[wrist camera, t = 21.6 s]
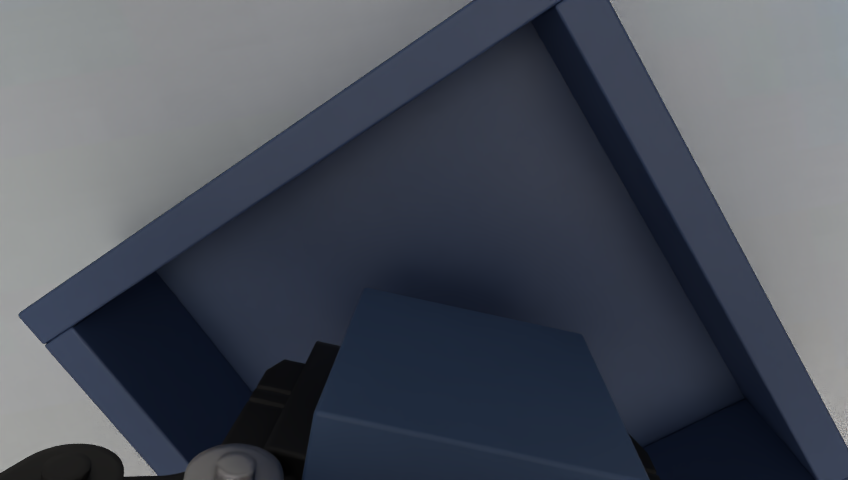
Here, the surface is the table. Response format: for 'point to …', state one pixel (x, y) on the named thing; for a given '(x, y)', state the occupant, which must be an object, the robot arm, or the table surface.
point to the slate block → (463, 401)
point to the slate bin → (459, 252)
